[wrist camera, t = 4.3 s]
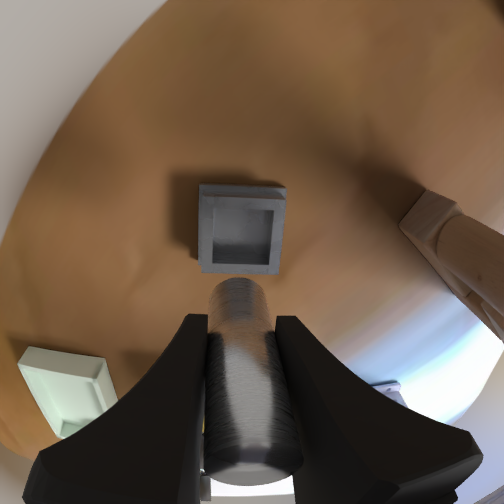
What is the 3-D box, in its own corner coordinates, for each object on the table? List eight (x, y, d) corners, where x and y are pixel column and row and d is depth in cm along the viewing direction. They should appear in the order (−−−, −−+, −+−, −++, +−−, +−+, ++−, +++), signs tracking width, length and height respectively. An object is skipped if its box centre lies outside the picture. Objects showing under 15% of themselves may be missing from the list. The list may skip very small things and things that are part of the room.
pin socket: (284, 186, 18) (292, 194, 16) (277, 263, 20) (282, 279, 18) (200, 182, 18) (196, 190, 16) (198, 261, 20) (196, 277, 18)
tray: (105, 358, 23) (96, 379, 20) (129, 432, 27) (125, 451, 24) (28, 346, 22) (17, 363, 19) (63, 420, 26) (57, 437, 24)
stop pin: (268, 278, 12) (313, 439, 5) (263, 325, 13) (294, 482, 6) (209, 276, 12) (200, 443, 5) (209, 325, 12) (205, 485, 6)
